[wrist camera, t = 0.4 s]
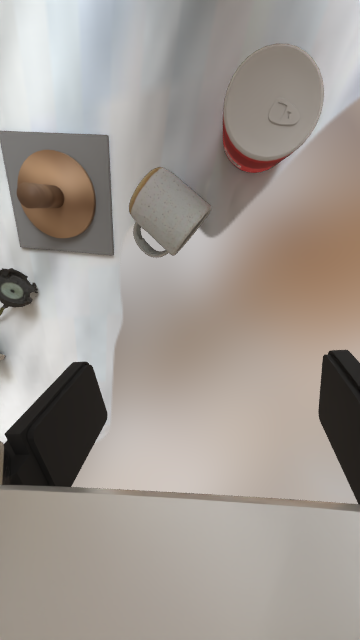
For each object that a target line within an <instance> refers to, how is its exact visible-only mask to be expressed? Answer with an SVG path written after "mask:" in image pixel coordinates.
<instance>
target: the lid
mask: <svg viewBox="0 0 360 640" xmlns="http://www.w3.org/2000/svg"><path fill="white" fill-rule="evenodd" d="M17 197H18V200H19V201H20V203H21V206H22V208H23V210H24V212H25V214H26V215H27V217H28V218H29V220H30V221H31V222H32V223H33V224H34V225H35V226H36V227H37V228H38V229H39V230H41V231H42V232H44V233H45V234H47V235H49V236H52V237H55V238H70V237H74V236H77V235H79V234H81V233H82V232H84V231H85V230H86V229H87V228H88V227H89V225H90V224H91V222H92V220H93V218H94V215H95V210H96V196H95V191H94V187H93V184H92V181H91V179H90V177H89V176H88V174H87V172H86V171H85V170H84V168H83V167H82V166H81V165H80V164H79V163H78V162H77V161H76V160H75V159H73V158H72V157H70V156H69V155H66V154H64V153H61V152H58V151H55V150H41V151H37V152H35V153H33V154H32V155H30V156H29V157H28V158H27V159H26V160H25V161H24V163H23V164H22V166H21V168H20V171H19V175H18V181H17Z"/></svg>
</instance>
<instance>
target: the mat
mask: <svg viewBox="0 0 360 640" xmlns="http://www.w3.org/2000/svg"><path fill="white" fill-rule="evenodd" d="M0 143H1V148H2V153H3V158H4V164H5V169H6V174H7V179H8V184H9V190H10V195H11V200H12V205H13V211H14V216H15V221H16V226H17V232H18V237H19V242H20V247H27V248H38V249H49V250H60V251H71V252H82V253H93V254H104V255H114V246H113V224H112V202H111V180H110V158H109V136H107V135H92V134H67V133H42V132H16V131H0ZM41 150H55V151H58V152H61V153H64V154H66V155H69V156H70V157H72V158H73V159H75V160H76V161H77V162H78V163H79V164H80V165H81V166H82V167H83V168H84V170H85V171H86V172H87V174H88V176H89V177H90V179H91V181H92V184H93V187H94V191H95V196H96V210H95V215H94V218H93V220H92V222H91V224H90V225H89V227H88V228H87V229H86V230H85V231H84V232H82V233H81V234H79V235H77V236H74V237H70V238H55V237H52V236H49V235H47V234H45V233H44V232H42V231H41V230H39V229H38V228H37V227H36V226H35V225H34V224H33V223H32V222H31V221H30V220H29V218H28V217H27V215H26V214H25V212H24V210H23V208H22V206H21V203H20V201H19V200H18V197H17V181H18V175H19V171H20V168H21V166H22V164H23V163H24V161H25V160H26V159H27V158H28V157H29V156H30V155H32V154H33V153H35V152H37V151H41Z"/></svg>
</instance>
